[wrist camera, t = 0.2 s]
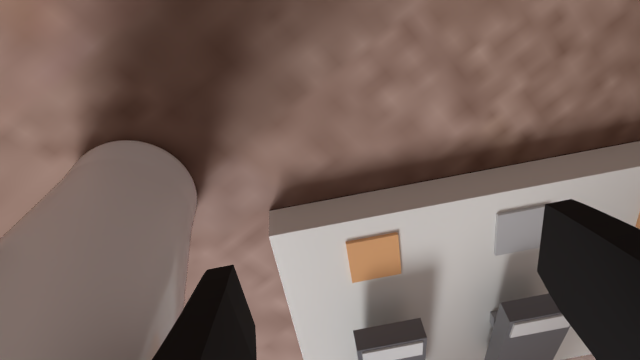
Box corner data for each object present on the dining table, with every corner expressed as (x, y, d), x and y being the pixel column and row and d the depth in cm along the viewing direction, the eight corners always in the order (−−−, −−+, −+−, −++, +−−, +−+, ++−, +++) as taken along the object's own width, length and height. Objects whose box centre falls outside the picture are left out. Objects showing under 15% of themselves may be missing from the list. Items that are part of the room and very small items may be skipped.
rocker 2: (540, 348, 24) (550, 367, 23) (484, 359, 24) (492, 378, 23) (567, 289, 20) (581, 310, 19) (500, 302, 20) (510, 324, 19)
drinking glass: (21, 179, 19) (-515, 737, 6) (133, 86, 17) (-251, 554, 4) (142, 269, 22) (-32, 760, 9) (245, 196, 20) (215, 657, 8)
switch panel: (668, 309, 28) (702, 341, 25) (313, 376, 28) (317, 414, 25) (736, 122, 21) (790, 144, 19) (268, 210, 21) (268, 243, 19)
